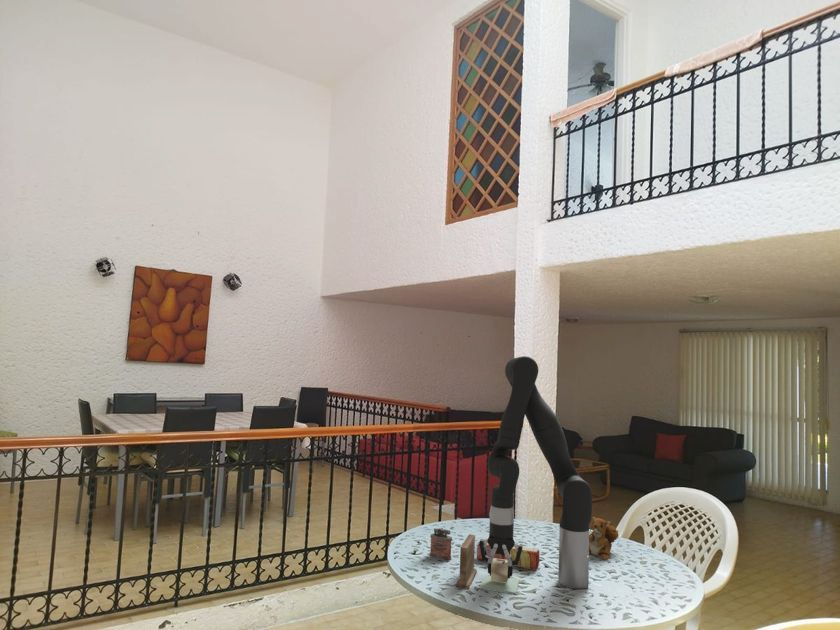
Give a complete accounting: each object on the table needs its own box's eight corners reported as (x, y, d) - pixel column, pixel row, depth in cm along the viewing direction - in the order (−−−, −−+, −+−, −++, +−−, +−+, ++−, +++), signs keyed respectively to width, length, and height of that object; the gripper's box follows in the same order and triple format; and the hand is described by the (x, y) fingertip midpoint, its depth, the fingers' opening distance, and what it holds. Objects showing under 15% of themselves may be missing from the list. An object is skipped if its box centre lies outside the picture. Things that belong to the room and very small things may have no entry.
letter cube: (509, 576, 177) (509, 559, 177) (507, 582, 172) (507, 565, 172) (493, 574, 178) (493, 557, 178) (490, 579, 173) (491, 562, 174)
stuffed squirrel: (578, 553, 207) (579, 517, 208) (597, 546, 216) (598, 511, 217) (603, 561, 200) (603, 523, 201) (622, 553, 209) (622, 517, 210)
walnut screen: (476, 572, 184) (478, 535, 185) (468, 589, 170) (470, 548, 171) (464, 571, 185) (466, 533, 186) (455, 587, 171) (457, 546, 172)
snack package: (475, 561, 195) (476, 541, 196) (481, 555, 201) (482, 536, 202) (536, 573, 186) (537, 552, 187) (540, 566, 193) (541, 546, 193)
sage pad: (519, 580, 179) (519, 579, 179) (515, 594, 168) (515, 592, 168) (485, 575, 182) (485, 574, 182) (479, 588, 171) (479, 587, 171)
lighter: (427, 556, 197) (429, 527, 198) (432, 554, 200) (433, 525, 201) (448, 561, 193) (449, 531, 194) (452, 558, 196) (453, 529, 197)
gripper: (525, 520, 178) (524, 575, 177) (481, 514, 182) (479, 568, 181) (523, 526, 171) (521, 584, 169) (477, 520, 175) (475, 577, 173)
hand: (499, 575), depth 175 cm, fingers closed on letter cube, 5 cm apart
